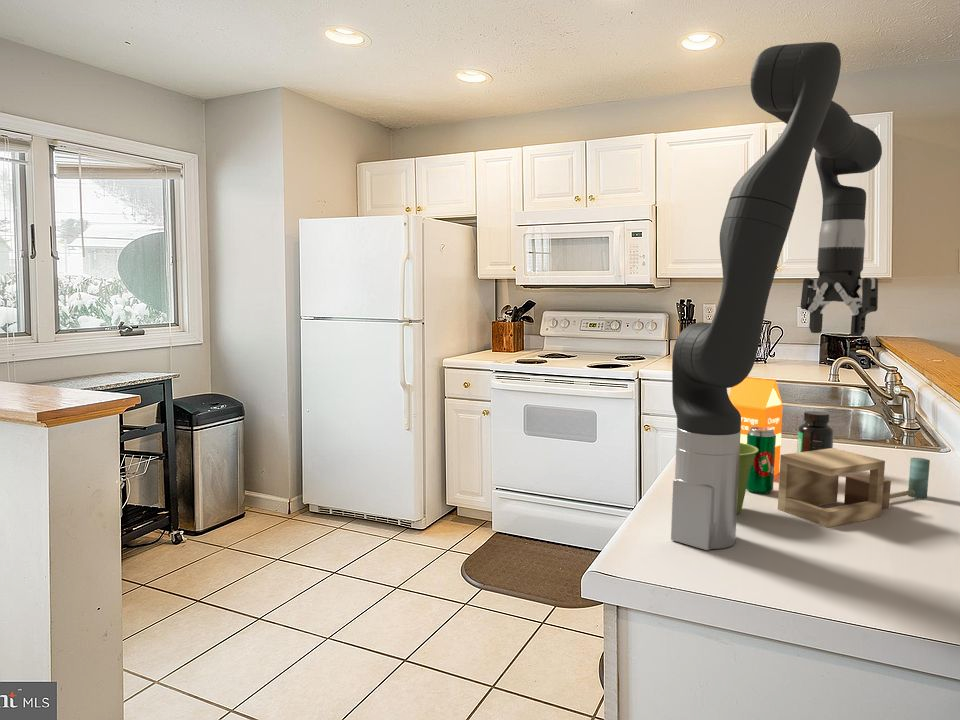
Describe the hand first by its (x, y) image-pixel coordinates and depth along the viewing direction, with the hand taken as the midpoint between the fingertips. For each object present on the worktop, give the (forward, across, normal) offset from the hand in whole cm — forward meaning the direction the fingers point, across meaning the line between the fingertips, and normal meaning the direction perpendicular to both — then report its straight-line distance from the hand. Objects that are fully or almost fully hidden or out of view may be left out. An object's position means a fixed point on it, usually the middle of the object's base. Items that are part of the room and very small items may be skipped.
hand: (835, 334), depth 128 cm
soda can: (+30, +5, +12) cm, 33 cm away
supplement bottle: (+30, +13, -12) cm, 35 cm away
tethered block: (+30, -9, -6) cm, 32 cm away
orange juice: (+30, +16, +3) cm, 34 cm away
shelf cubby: (+30, -9, +10) cm, 33 cm away
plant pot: (+30, 0, +26) cm, 40 cm away
